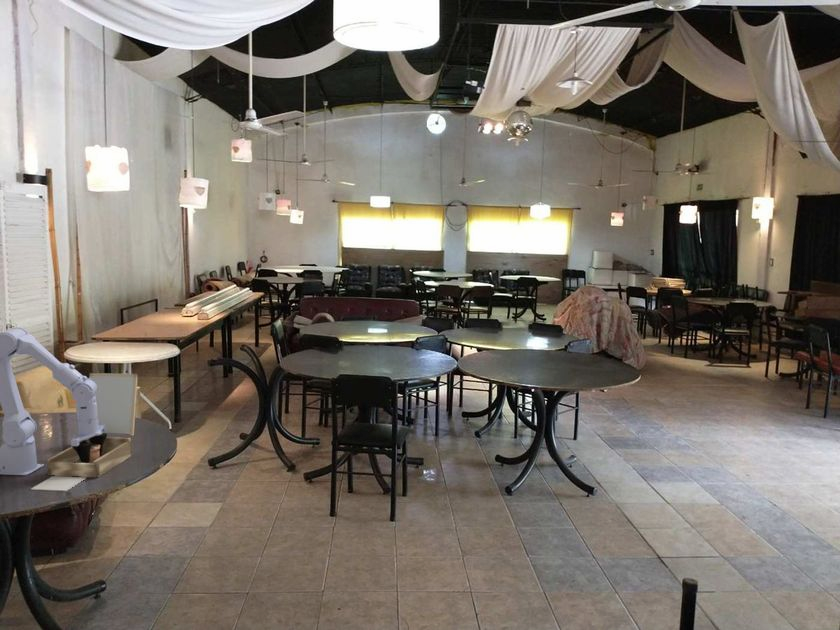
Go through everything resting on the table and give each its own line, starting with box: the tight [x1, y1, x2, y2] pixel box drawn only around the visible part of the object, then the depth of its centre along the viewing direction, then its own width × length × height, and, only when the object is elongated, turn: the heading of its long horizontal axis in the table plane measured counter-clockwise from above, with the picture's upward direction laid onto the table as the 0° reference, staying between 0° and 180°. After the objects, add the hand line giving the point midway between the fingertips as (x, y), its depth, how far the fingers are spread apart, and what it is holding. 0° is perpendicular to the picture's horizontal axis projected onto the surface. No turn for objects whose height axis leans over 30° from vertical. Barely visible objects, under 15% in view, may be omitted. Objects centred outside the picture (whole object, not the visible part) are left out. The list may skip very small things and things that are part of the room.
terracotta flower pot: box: [89, 444, 100, 463], centre depth 199 cm, size 6×6×6 cm
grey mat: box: [30, 476, 87, 492], centre depth 185 cm, size 11×9×1 cm
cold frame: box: [46, 436, 133, 478], centre depth 199 cm, size 16×18×6 cm
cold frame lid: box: [88, 372, 139, 436], centre depth 209 cm, size 17×20×1 cm
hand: (91, 460), depth 199 cm, fingers closed on terracotta flower pot, 5 cm apart
